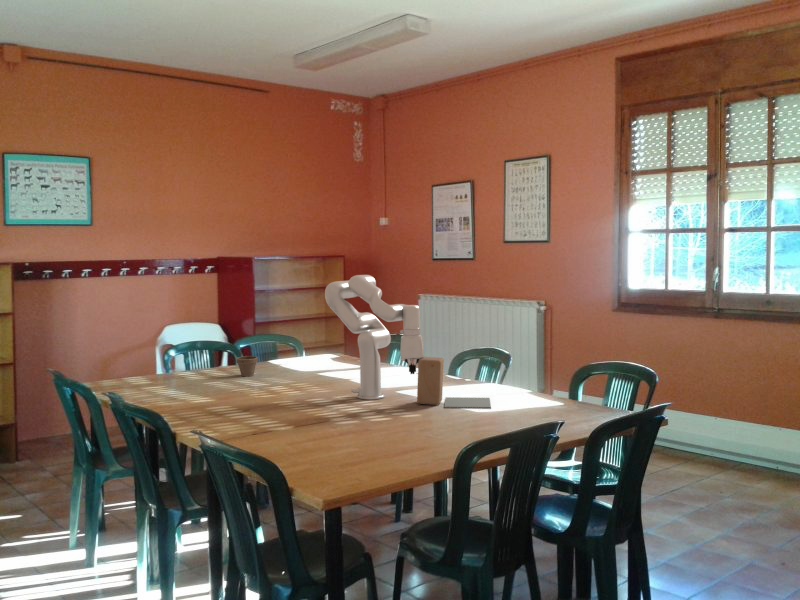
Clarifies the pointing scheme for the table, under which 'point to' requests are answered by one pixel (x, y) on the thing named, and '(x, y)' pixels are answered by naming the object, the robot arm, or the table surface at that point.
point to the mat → (467, 402)
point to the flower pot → (247, 365)
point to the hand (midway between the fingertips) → (412, 373)
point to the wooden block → (430, 380)
